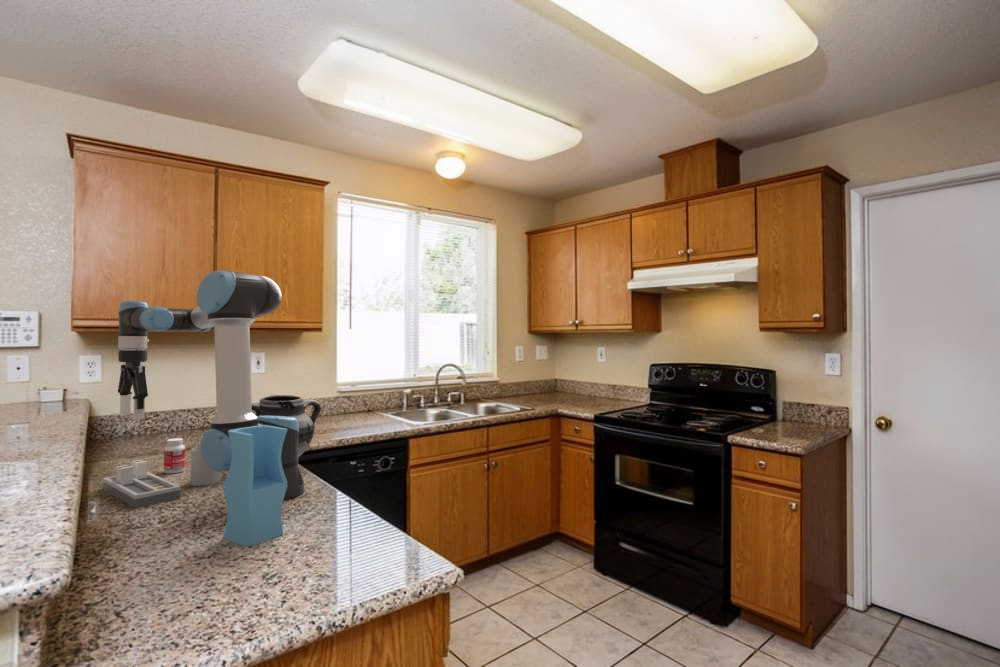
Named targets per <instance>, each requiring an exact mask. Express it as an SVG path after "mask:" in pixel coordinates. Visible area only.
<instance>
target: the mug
mask: <svg viewBox="0 0 1000 667" xmlns="http://www.w3.org/2000/svg"><path fill="white" fill-rule="evenodd" d="M189 480H190V485H191V486H193V487H206V486H211V485H216V484H219V483H220V482H221V481H222V472H218V471H215V470H213V469H212V468H210V467H209V465H208V464H207V463H206V462H205V460H204V458H203V455H202V452H201V445H200V446H195V447H192V448H191V449H190V479H189Z"/></svg>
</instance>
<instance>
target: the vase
mask: <svg viewBox="0 0 1000 667" xmlns="http://www.w3.org/2000/svg"><path fill="white" fill-rule="evenodd" d="M286 433H287V429H286V428H280V427H274V426H268V425H258V426H252V427H245V428H238V429H232V430H229V431H228V434H229V438H230V442H231V448H232V460H231V466H230V469H229V471H227V472H228V473H227V476H226V478H225V481H224V483H223V486H222V487H223V490H222V491H223V493H224V497H225V501H226V507H227V516H226V519H227V520H226V526H225V529H224V533H223V536H222V539H224V540H227V541H229V542H233V543H234V544H236V545H237V544H238V545H239V546H243V547H252V546H256V545H259V544H261V543H264V542H266V541H270V540H272V539H274V538H278V537H281V536H282V535H283V534H284V529H283V524H282V510H283V504H284V500H285V499H284V496H285V492H286V489H287V479H286V477H285V474H284V471H283V467H282V462H281V452H282V446H283V442H284V439H285V436H286Z"/></svg>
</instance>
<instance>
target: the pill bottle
mask: <svg viewBox="0 0 1000 667" xmlns="http://www.w3.org/2000/svg"><path fill="white" fill-rule="evenodd" d="M183 441H184V439H183V438H181V437H180V438H178V437H175V438H169V439H167V440H166V446H165V447H164V449H163V473H165V474H168V475H170V474H171V475H172V474H179V473H183V472H184V471H185V470H186V446H185V445H184V442H183Z"/></svg>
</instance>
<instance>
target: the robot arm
mask: <svg viewBox="0 0 1000 667" xmlns="http://www.w3.org/2000/svg"><path fill="white" fill-rule="evenodd" d="M282 297H283V296H282V291H281V288H280V287H279V285H278V284H277V283H276V282H275V281H274V280H273V279H271V278H270V277H267V276H265V275H258V274H250V273H244V272H237V271H231V270H214V271H211V272H209V273H207V274H206V275H205V276H204V277H203V279H202V280H201V281H200V284H199V286H198V288H197V293H196V303H197V306H196V307H193V308H171V307H170V308H169V307H168V308H167V307H161V306H151V307H149V304H148V303H147V302H146V301H135V300H134V301H133V300H132V301H130V300H127V301H126V300H123V301H121V302H120V303H119V308H118V310H119V311H118V343H117V344H118V346H117V347H118V349H120V350H119V351H118V355H117V357H118V358H117V360H118V362H119V363H124V364H120V373H119V374H120V375H119V380H118V381H119V382H118V386H117V388H118V389H117V393H118V394H119V396H120V397H119V405H120V406H119V416H121V417H123V416H130V415H131V413H132V412H131V410H132V409H131V407H132V403H131V402H132V400H133V421H137V420H138V421H139V420H145V413H146V410H145V402H146V400H145V399H146V398H147V397H149V393H148V386H147V376H146V366H145V365H141V363H144V362H147V361H148V350H146V349H147V348H148V343H149V342H150V339H148V334H149V332H152V333H153V332H154V333H157V332H159V333H161V332H165V333H166V332H174V333H175V332H178V333H179V332H181V333H182V332H184V333H185V332H190V333H204V332H209V331H211V329H212V328H214V354H215V356H214V357H215V358H214V359H215V360H214V362H215V363H214V364H215V365H214V366H215V396H216V397H215V398H216V402H215V403H216V415H215V416H214V417H213V419H211V420H210V422H209V423H210V429H208V430H207V431H205V432H204V433H203V434H202V437H201V439H200V446H201V452H202V455H203V458H204V460H205V462H206V463H207V464H208V465H209V467H210V468H212V469H213V470H215V471H218V472H221V473H223V472H229V469H230V466H231V460H232V448H231V442H230V438H229V434H228V431H229V430H232V429H238V428H245V427H252V426H258V425H268V426H274V427H280V428H286V429H287V433H286V436H285V439H284V442H283V446H282V452H281V462H282V467H283V471H284V474H285V477H286V479H287V489H286V492H285V496H284V500H289V499H293V498H296V497H298V496H300V495H302V494H304V492H305V482H304V479H303V476H302V474H301V470H300V466H299V457H298V450H299V424H298V420H297V419H296V418H294V417H287V416H258V417H257V416H256V413H253V410H252V403H253V402H252V372H251V371H252V370H251V336H250V327H251V325H252V324H253V323H254V322H255V321H256V318H259V317H263V316H268V315H270V314H272V313H274V312H276V311H277V310H278V309H279V307H280V305H281V303H282V300H283V299H282ZM132 388H133V389H132ZM131 390H133V393H132V391H131ZM133 394H134V396H133V397H132V395H133Z"/></svg>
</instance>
